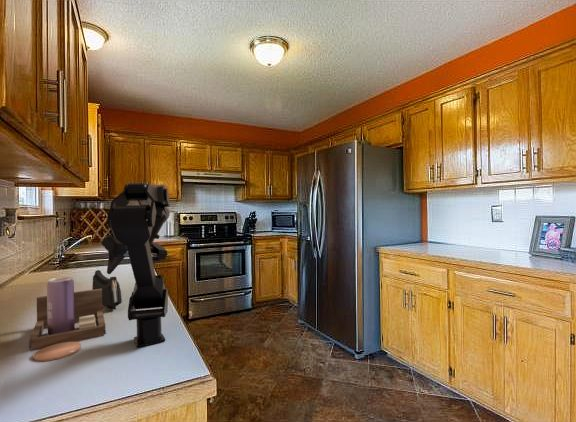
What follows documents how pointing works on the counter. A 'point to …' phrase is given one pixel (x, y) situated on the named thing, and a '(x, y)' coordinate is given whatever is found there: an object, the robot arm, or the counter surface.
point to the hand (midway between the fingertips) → (122, 274)
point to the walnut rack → (83, 306)
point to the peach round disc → (57, 351)
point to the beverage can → (60, 305)
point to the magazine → (107, 289)
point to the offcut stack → (87, 321)
